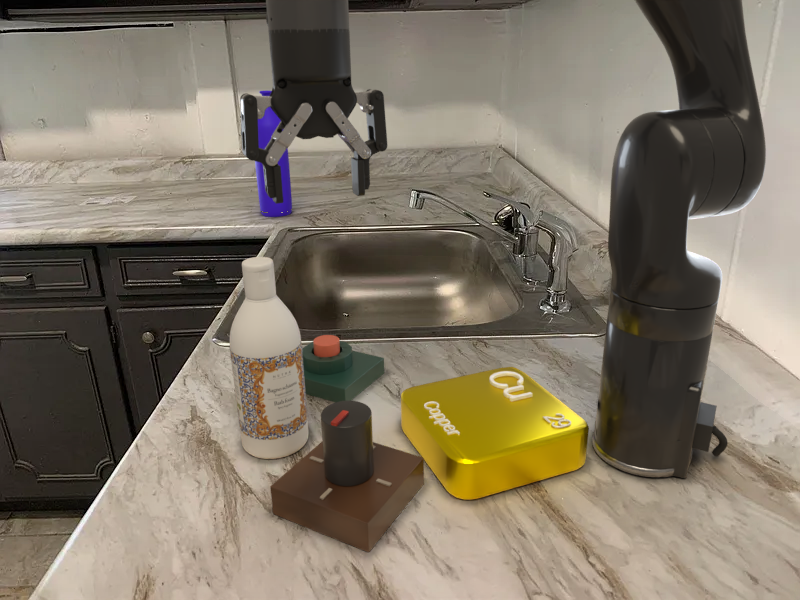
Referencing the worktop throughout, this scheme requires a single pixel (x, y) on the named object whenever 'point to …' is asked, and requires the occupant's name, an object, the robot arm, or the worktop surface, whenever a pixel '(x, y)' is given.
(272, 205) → the bottle
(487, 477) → the element tile
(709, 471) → the worktop surface
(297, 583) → the worktop surface
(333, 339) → the red button cap
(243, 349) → the bath foam
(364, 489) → the dial panel
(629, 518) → the worktop surface
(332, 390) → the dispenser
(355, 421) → the dial
